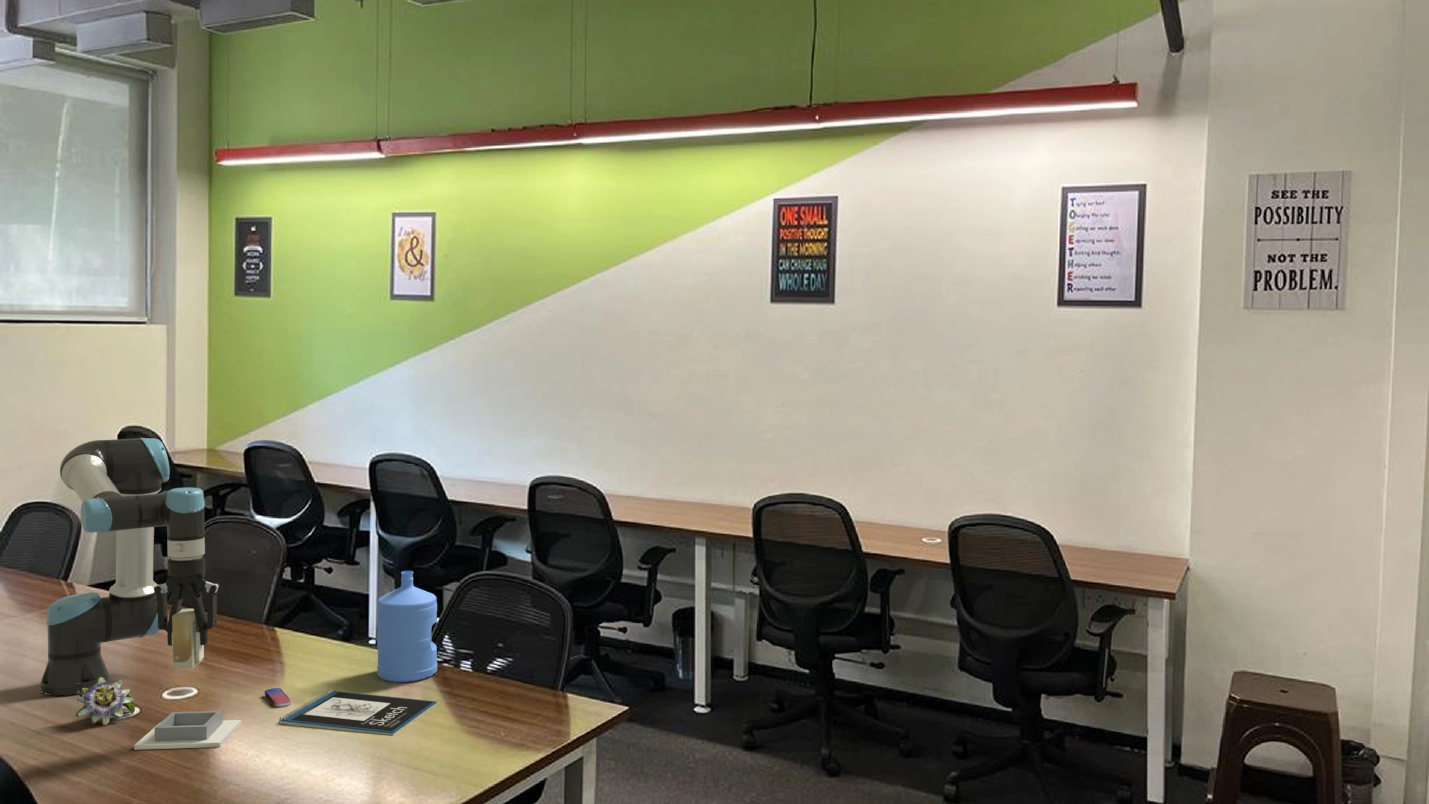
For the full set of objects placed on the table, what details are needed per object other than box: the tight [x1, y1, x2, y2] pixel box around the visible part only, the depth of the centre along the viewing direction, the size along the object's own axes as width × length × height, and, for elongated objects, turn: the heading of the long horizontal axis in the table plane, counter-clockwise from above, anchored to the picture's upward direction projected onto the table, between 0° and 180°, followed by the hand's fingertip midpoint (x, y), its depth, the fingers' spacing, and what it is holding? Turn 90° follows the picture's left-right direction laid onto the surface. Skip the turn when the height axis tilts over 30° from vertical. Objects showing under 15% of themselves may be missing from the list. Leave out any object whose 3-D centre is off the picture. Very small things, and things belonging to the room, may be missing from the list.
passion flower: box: [75, 677, 136, 726], centre depth 248 cm, size 11×11×12 cm
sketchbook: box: [278, 689, 438, 736], centre depth 254 cm, size 22×30×2 cm
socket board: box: [133, 710, 242, 751], centre depth 238 cm, size 18×14×4 cm
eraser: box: [264, 687, 291, 709], centre depth 262 cm, size 11×4×2 cm, turn 37°
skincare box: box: [172, 608, 204, 669], centre depth 236 cm, size 6×4×12 cm
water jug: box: [376, 570, 438, 683], centre depth 283 cm, size 16×16×28 cm
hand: (188, 659), depth 237 cm, fingers closed on skincare box, 4 cm apart
